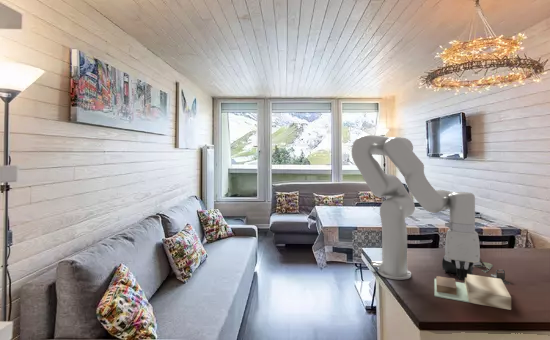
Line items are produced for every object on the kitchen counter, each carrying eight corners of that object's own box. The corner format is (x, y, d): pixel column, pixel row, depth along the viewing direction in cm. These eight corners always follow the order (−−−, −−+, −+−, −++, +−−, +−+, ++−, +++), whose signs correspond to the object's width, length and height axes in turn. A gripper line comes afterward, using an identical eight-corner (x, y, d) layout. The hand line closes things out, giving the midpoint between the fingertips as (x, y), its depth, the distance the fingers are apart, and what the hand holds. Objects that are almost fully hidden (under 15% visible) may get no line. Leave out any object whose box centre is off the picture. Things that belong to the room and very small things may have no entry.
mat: (434, 296, 102) (434, 295, 102) (434, 279, 116) (434, 278, 116) (470, 302, 97) (470, 301, 97) (466, 284, 111) (466, 283, 111)
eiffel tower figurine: (487, 274, 122) (487, 242, 122) (459, 268, 130) (459, 237, 129) (495, 265, 133) (495, 235, 132) (469, 259, 140) (469, 231, 140)
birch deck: (468, 302, 98) (469, 290, 97) (464, 284, 112) (464, 273, 112) (511, 310, 92) (511, 297, 92) (501, 289, 106) (501, 278, 106)
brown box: (456, 288, 102) (456, 295, 102) (454, 278, 110) (454, 285, 110) (436, 284, 105) (436, 291, 105) (436, 276, 113) (436, 282, 113)
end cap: (441, 273, 123) (442, 256, 123) (446, 268, 128) (447, 253, 128) (470, 279, 116) (470, 262, 116) (474, 274, 121) (474, 258, 121)
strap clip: (489, 276, 120) (489, 265, 120) (498, 276, 119) (498, 265, 119) (502, 284, 111) (502, 273, 111) (511, 285, 111) (511, 273, 111)
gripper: (437, 227, 105) (437, 279, 105) (489, 231, 98) (489, 287, 98) (437, 223, 111) (437, 271, 112) (486, 227, 104) (485, 278, 105)
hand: (461, 278), depth 105 cm, fingers closed
